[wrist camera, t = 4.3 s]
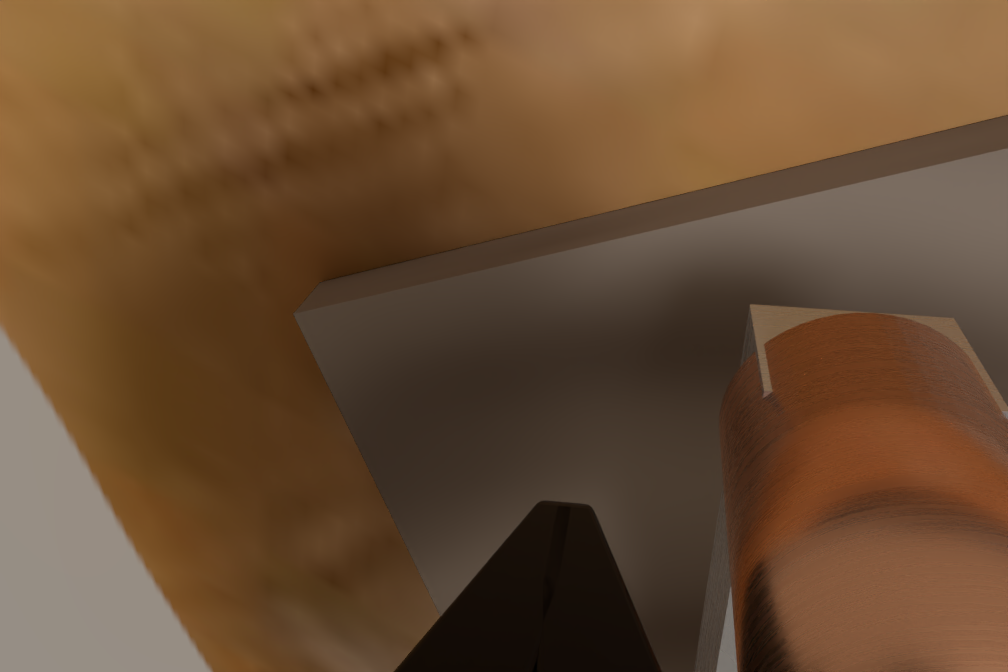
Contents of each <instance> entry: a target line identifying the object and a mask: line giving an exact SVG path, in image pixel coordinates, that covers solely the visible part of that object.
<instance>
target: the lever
mask: <svg viewBox="0 0 1008 672" xmlns="http://www.w3.org/2000/svg"><path fill="white" fill-rule="evenodd" d="M719 434H720V447H721V461H722V474H723V484H722V490H721V497H720V504H719V510H718V517H717V523H716V530H715V537H714V543H713V550H712V557H711V563H710V570H709V576H708V583H707V590H706V596H705V603H704V609H703V616H702V623H701V629H700V636H699V642H698V649H697V656H696V662H695V669H694V672H1008V406H1007V405H1006V403H1005V401H1004V400H1003V398H1002V397H1001V395H1000V393H999V392H998V390H997V388H996V387H995V385H994V383H993V382H992V380H991V378H990V377H989V375H988V374H987V372H986V370H985V369H984V367H983V365H982V364H981V362H980V360H979V359H978V357H977V356H976V354H975V352H974V351H973V349H972V347H971V346H970V344H969V342H968V341H967V339H966V337H965V336H964V334H963V333H962V331H961V329H960V328H959V326H958V324H957V323H956V321H955V319H954V318H945V317H930V316H915V315H901V314H886V313H872V312H857V311H842V310H828V309H813V308H799V307H784V306H769V305H755V304H750V305H749V312H748V319H747V325H746V332H745V338H744V345H743V352H742V358H741V365H740V368H739V369H738V370H737V372H736V373H735V374H734V376H733V378H732V380H731V381H730V383H729V385H728V387H727V389H726V392H725V394H724V397H723V399H722V404H721V408H720V414H719Z"/></svg>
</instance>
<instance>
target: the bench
mask: <svg viewBox="0 0 1008 672" xmlns="http://www.w3.org/2000/svg"><path fill="white" fill-rule="evenodd" d="M750 304H755V305H769V306H784V307H799V308H813V309H828V310H842V311H857V312H872V313H886V314H901V315H915V316H930V317H945V318H954V319H955V321H956V323H957V324H958V326H959V328H960V329H961V331H962V333H963V334H964V336H965V337H966V339H967V341H968V342H969V344H970V346H971V347H972V349H973V351H974V352H975V354H976V356H977V357H978V359H979V360H980V362H981V364H982V365H983V367H984V369H985V370H986V372H987V374H988V375H989V377H990V378H991V380H992V382H993V383H994V385H995V387H996V388H997V390H998V392H999V393H1000V395H1001V397H1002V398H1003V400H1004V401H1005V403H1006V405H1007V406H1008V115H1007V116H1003V117H999V118H995V119H991V120H986V121H982V122H978V123H974V124H970V125H966V126H962V127H958V128H954V129H949V130H945V131H941V132H937V133H933V134H929V135H925V136H921V137H916V138H912V139H908V140H904V141H900V142H896V143H892V144H888V145H884V146H879V147H875V148H871V149H867V150H863V151H859V152H855V153H851V154H846V155H842V156H838V157H834V158H830V159H826V160H822V161H818V162H814V163H809V164H805V165H801V166H797V167H793V168H789V169H785V170H781V171H776V172H772V173H768V174H764V175H760V176H756V177H752V178H748V179H744V180H739V181H735V182H731V183H727V184H723V185H719V186H715V187H711V188H706V189H702V190H698V191H694V192H690V193H686V194H682V195H678V196H673V197H669V198H665V199H661V200H657V201H653V202H649V203H645V204H641V205H636V206H632V207H628V208H624V209H620V210H616V211H612V212H608V213H603V214H599V215H595V216H591V217H587V218H583V219H579V220H575V221H571V222H566V223H562V224H558V225H554V226H550V227H546V228H542V229H538V230H533V231H529V232H525V233H521V234H517V235H513V236H509V237H505V238H501V239H496V240H492V241H488V242H484V243H480V244H476V245H472V246H468V247H463V248H459V249H455V250H451V251H447V252H443V253H439V254H435V255H431V256H426V257H422V258H418V259H414V260H410V261H406V262H402V263H398V264H393V265H389V266H385V267H381V268H377V269H373V270H369V271H365V272H360V273H356V274H352V275H348V276H344V277H340V278H336V279H332V280H328V281H323V282H320V283H319V284H318V285H317V286H316V288H315V289H314V290H313V291H312V292H311V293H310V295H309V296H308V297H307V298H306V299H305V301H304V302H303V303H302V304H301V305H300V306H299V308H298V309H297V310H296V311H295V312H294V314H293V315H294V317H295V319H296V321H297V323H298V325H299V327H300V329H301V331H302V333H303V335H304V338H305V340H306V342H307V344H308V346H309V348H310V350H311V352H312V354H313V356H314V358H315V360H316V362H317V364H318V366H319V368H320V370H321V372H322V374H323V377H324V379H325V381H326V383H327V385H328V387H329V389H330V391H331V393H332V395H333V397H334V399H335V401H336V403H337V405H338V407H339V409H340V411H341V413H342V416H343V418H344V420H345V422H346V424H347V426H348V428H349V430H350V432H351V434H352V436H353V438H354V440H355V442H356V444H357V446H358V448H359V450H360V452H361V455H362V457H363V459H364V461H365V463H366V465H367V467H368V469H369V471H370V473H371V475H372V477H373V479H374V481H375V483H376V485H377V487H378V489H379V491H380V494H381V496H382V498H383V500H384V502H385V504H386V506H387V508H388V510H389V512H390V514H391V516H392V518H393V520H394V522H395V524H396V526H397V528H398V530H399V533H400V535H401V537H402V539H403V541H404V543H405V545H406V547H407V549H408V551H409V553H410V555H411V557H412V559H413V561H414V563H415V565H416V567H417V569H418V572H419V574H420V576H421V578H422V580H423V582H424V584H425V586H426V588H427V590H428V592H429V594H430V596H431V598H432V600H433V602H434V604H435V606H436V608H437V611H438V613H439V615H440V617H441V616H442V614H443V613H444V612H445V611H446V610H447V608H448V607H449V606H450V605H451V604H452V603H453V601H454V600H455V599H456V598H457V597H458V596H459V594H460V593H461V592H462V591H463V590H464V588H465V587H466V586H467V585H468V584H469V583H470V581H471V580H472V579H473V578H474V577H475V576H476V574H477V573H478V572H479V571H480V570H481V568H482V567H483V566H484V565H485V564H486V563H487V561H488V560H489V559H490V558H491V557H492V555H493V554H494V553H495V552H496V551H497V550H498V548H499V547H500V546H501V545H502V544H503V543H504V541H505V540H506V539H507V538H508V537H509V535H510V534H511V533H512V532H513V531H514V530H515V528H516V527H517V526H518V525H519V524H520V523H521V521H522V520H523V519H524V518H525V517H526V515H527V514H528V513H529V512H530V511H531V510H532V508H533V507H534V506H535V505H536V504H537V503H538V502H540V501H544V500H547V501H558V502H569V503H580V504H588V505H590V506H591V507H592V508H593V510H594V511H595V514H596V516H597V518H598V521H599V523H600V525H601V528H602V530H603V532H604V535H605V537H606V539H607V542H608V544H609V547H610V549H611V551H612V554H613V556H614V558H615V561H616V563H617V565H618V568H619V570H620V573H621V575H622V577H623V580H624V582H625V584H626V587H627V589H628V591H629V594H630V596H631V599H632V601H633V603H634V606H635V608H636V610H637V613H638V615H639V617H640V620H641V622H642V625H643V627H644V629H645V632H646V634H647V636H648V639H649V641H650V643H651V646H652V648H653V651H654V653H655V655H656V658H657V660H658V662H659V665H660V667H661V669H662V672H694V669H695V662H696V656H697V649H698V642H699V636H700V629H701V623H702V616H703V609H704V603H705V596H706V590H707V583H708V576H709V570H710V563H711V557H712V550H713V543H714V537H715V530H716V523H717V517H718V510H719V504H720V497H721V490H722V484H723V474H722V461H721V447H720V434H719V414H720V408H721V404H722V399H723V397H724V394H725V392H726V389H727V387H728V385H729V383H730V381H731V380H732V378H733V376H734V374H735V373H736V372H737V370H738V369H739V368H740V365H741V358H742V352H743V345H744V338H745V332H746V325H747V319H748V312H749V305H750Z"/></svg>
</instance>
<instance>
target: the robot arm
mask: <svg viewBox="0 0 1008 672" xmlns="http://www.w3.org/2000/svg"><path fill="white" fill-rule="evenodd" d="M394 672H662V669H661V667H660V665H659V662H658V660H657V658H656V655H655V653H654V651H653V648H652V646H651V643H650V641H649V639H648V636H647V634H646V632H645V629H644V627H643V625H642V622H641V620H640V617H639V615H638V613H637V610H636V608H635V606H634V603H633V601H632V599H631V596H630V594H629V591H628V589H627V587H626V584H625V582H624V580H623V577H622V575H621V573H620V570H619V568H618V565H617V563H616V561H615V558H614V556H613V554H612V551H611V549H610V547H609V544H608V542H607V539H606V537H605V535H604V532H603V530H602V528H601V525H600V523H599V521H598V518H597V516H596V514H595V511H594V510H593V508H592V507H591V506H590V505H588V504H580V503H569V502H558V501H547V500H544V501H540V502H538V503H537V504H536V505H535V506H534V507H533V508H532V510H531V511H530V512H529V513H528V514H527V515H526V517H525V518H524V519H523V520H522V521H521V523H520V524H519V525H518V526H517V527H516V528H515V530H514V531H513V532H512V533H511V534H510V535H509V537H508V538H507V539H506V540H505V541H504V543H503V544H502V545H501V546H500V547H499V548H498V550H497V551H496V552H495V553H494V554H493V555H492V557H491V558H490V559H489V560H488V561H487V563H486V564H485V565H484V566H483V567H482V568H481V570H480V571H479V572H478V573H477V574H476V576H475V577H474V578H473V579H472V580H471V581H470V583H469V584H468V585H467V586H466V587H465V588H464V590H463V591H462V592H461V593H460V594H459V596H458V597H457V598H456V599H455V600H454V601H453V603H452V604H451V605H450V606H449V607H448V608H447V610H446V611H445V612H444V613H443V614H442V616H441V617H440V618H439V619H438V620H437V621H436V623H435V624H434V625H433V626H432V627H431V629H430V630H429V631H428V632H427V633H426V634H425V636H424V637H423V638H422V639H421V640H420V641H419V643H418V644H417V645H416V646H415V647H414V649H413V650H412V651H411V652H410V653H409V654H408V656H407V657H406V658H405V659H404V660H403V661H402V663H401V664H400V665H399V666H398V667H397V669H396V670H395V671H394Z"/></svg>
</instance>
